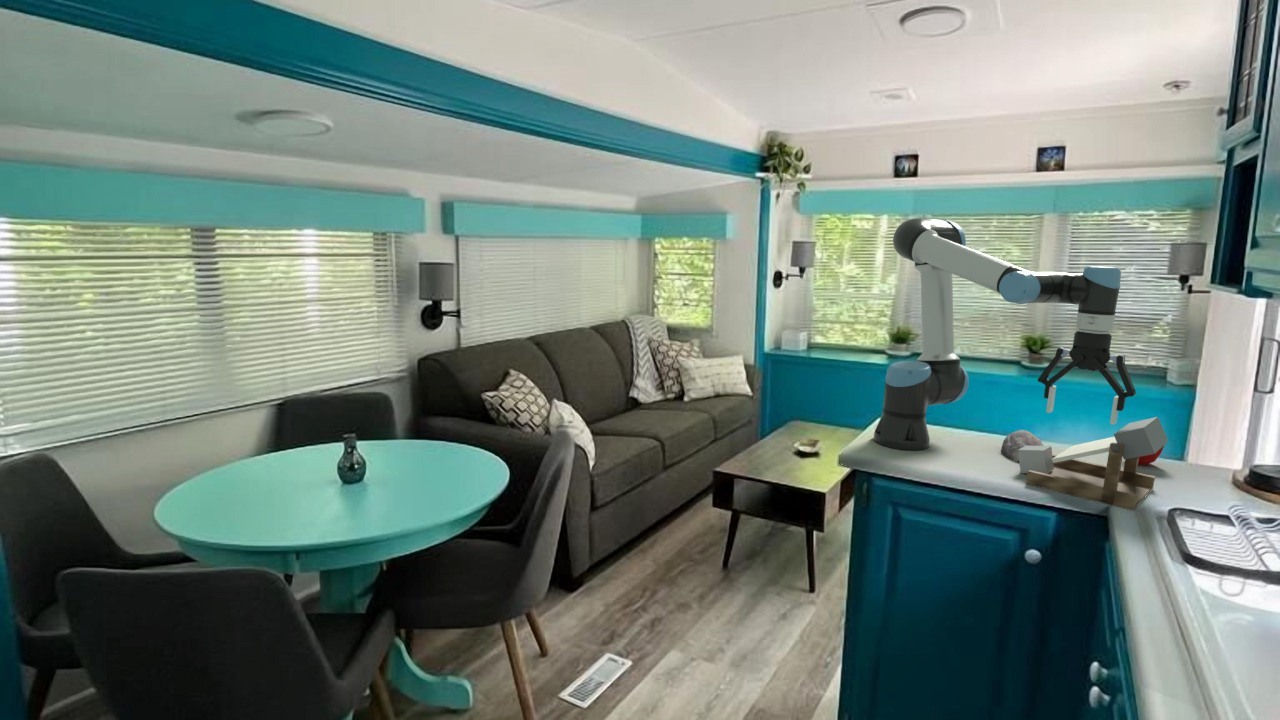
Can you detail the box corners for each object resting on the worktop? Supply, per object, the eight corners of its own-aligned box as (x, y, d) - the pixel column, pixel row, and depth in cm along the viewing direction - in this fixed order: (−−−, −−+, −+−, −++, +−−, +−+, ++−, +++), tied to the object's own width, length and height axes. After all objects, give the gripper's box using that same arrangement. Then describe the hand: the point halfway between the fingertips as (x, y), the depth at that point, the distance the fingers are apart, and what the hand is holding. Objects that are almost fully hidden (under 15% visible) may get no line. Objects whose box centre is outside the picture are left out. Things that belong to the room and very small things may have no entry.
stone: (1033, 486, 185) (1066, 463, 182) (1008, 458, 185) (1040, 435, 182) (1012, 466, 201) (1041, 445, 199) (989, 441, 201) (1018, 419, 199)
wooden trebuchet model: (1025, 483, 169) (1033, 428, 167) (1052, 465, 184) (1060, 414, 182) (1133, 510, 154) (1143, 450, 151) (1153, 488, 169) (1162, 433, 166)
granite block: (1044, 450, 173) (1046, 474, 173) (1051, 446, 177) (1053, 469, 177) (1018, 449, 177) (1020, 473, 177) (1025, 445, 181) (1028, 468, 181)
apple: (1169, 469, 185) (1176, 430, 183) (1132, 468, 185) (1139, 428, 183) (1145, 458, 194) (1151, 420, 192) (1110, 456, 195) (1116, 419, 193)
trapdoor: (1057, 473, 166) (1047, 449, 167) (1078, 458, 178) (1069, 436, 179) (1153, 454, 152) (1142, 428, 153) (1169, 440, 164) (1158, 416, 165)
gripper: (1031, 326, 172) (1019, 409, 175) (1153, 339, 154) (1138, 431, 158) (1040, 324, 177) (1029, 405, 180) (1160, 336, 159) (1145, 426, 163)
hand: (1080, 417), depth 169 cm, fingers open, 13 cm apart
